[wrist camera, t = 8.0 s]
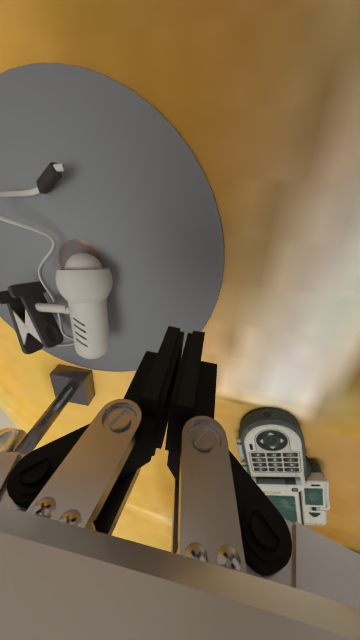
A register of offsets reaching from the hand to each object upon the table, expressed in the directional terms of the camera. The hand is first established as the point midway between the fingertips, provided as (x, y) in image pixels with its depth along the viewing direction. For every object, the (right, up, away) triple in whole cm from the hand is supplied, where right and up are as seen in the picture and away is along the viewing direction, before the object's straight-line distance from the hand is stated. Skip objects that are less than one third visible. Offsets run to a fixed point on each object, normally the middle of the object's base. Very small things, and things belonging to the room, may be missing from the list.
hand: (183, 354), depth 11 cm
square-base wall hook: (-15, -7, +23) cm, 29 cm away
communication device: (+15, -20, +25) cm, 35 cm away
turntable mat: (-11, +8, +14) cm, 19 cm away
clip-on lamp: (-12, +7, +14) cm, 20 cm away
